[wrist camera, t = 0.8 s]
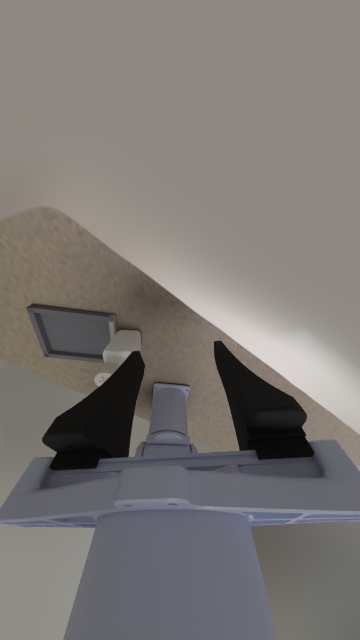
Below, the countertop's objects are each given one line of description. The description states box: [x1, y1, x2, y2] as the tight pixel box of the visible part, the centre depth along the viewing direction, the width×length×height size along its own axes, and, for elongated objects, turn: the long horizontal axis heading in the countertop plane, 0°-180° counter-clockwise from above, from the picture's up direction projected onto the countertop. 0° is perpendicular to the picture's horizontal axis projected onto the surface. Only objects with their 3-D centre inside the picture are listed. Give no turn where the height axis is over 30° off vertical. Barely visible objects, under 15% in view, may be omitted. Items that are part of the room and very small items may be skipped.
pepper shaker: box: [94, 330, 142, 386], centre depth 22 cm, size 4×4×10 cm
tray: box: [26, 304, 117, 363], centre depth 25 cm, size 10×13×1 cm
